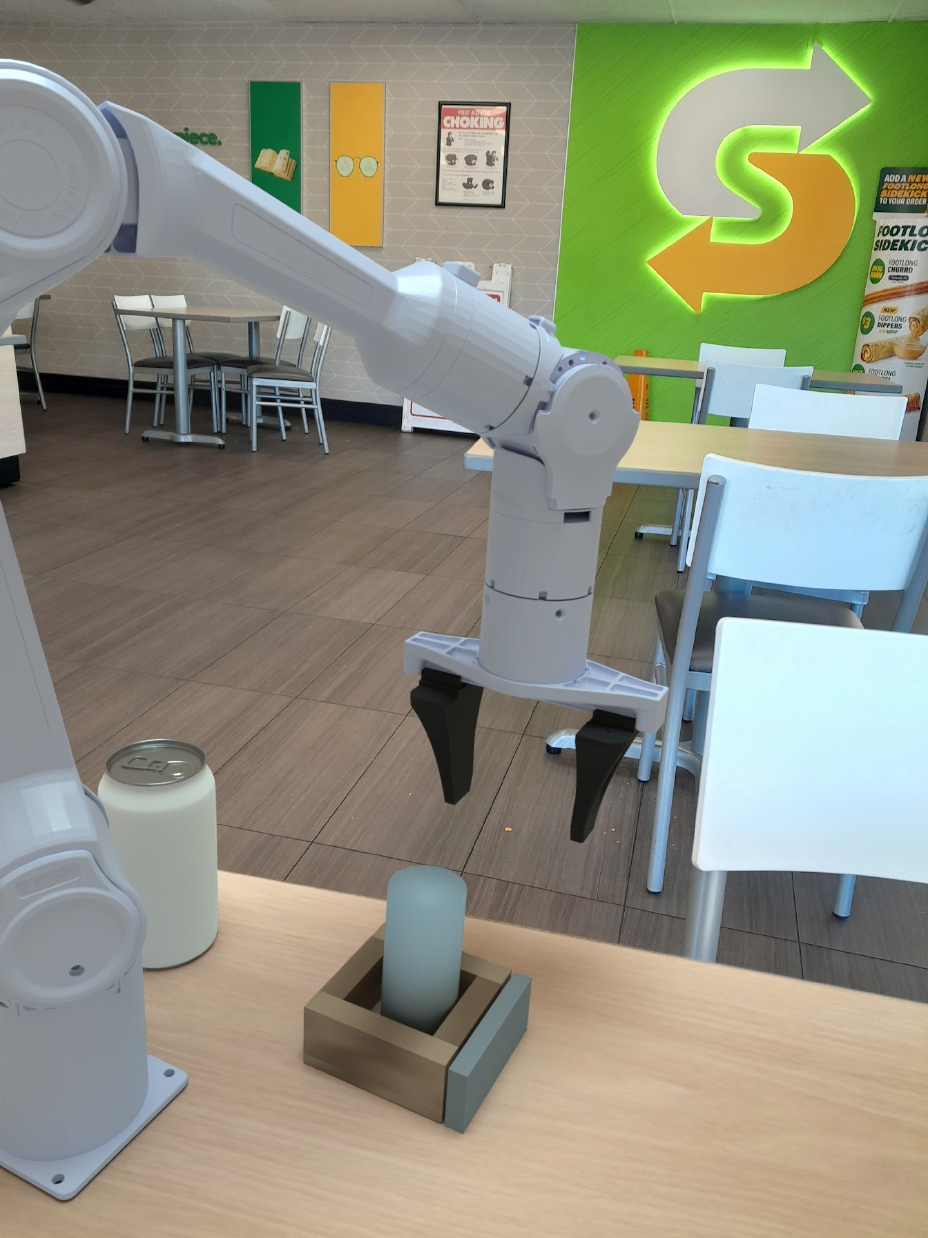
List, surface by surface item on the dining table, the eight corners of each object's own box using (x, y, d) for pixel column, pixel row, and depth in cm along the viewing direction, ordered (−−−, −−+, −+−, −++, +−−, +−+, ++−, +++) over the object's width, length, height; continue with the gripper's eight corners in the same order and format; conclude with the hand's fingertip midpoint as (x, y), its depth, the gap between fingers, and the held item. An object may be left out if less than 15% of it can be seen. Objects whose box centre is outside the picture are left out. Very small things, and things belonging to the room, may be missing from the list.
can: (189, 983, 56) (182, 796, 52) (85, 962, 57) (71, 777, 53) (236, 916, 62) (233, 744, 58) (141, 899, 63) (132, 728, 60)
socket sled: (303, 1062, 51) (303, 1006, 50) (381, 973, 58) (384, 922, 57) (441, 1124, 48) (445, 1066, 47) (507, 1022, 55) (512, 969, 54)
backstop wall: (444, 1126, 48) (448, 1069, 47) (509, 1024, 55) (514, 972, 54) (462, 1135, 47) (467, 1077, 46) (526, 1031, 54) (532, 978, 53)
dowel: (364, 1043, 52) (372, 894, 49) (402, 998, 55) (411, 857, 52) (432, 1072, 50) (444, 919, 47) (467, 1024, 54) (480, 880, 51)
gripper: (695, 591, 52) (662, 818, 56) (449, 545, 58) (436, 755, 62) (659, 628, 46) (625, 879, 50) (388, 572, 52) (379, 803, 56)
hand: (517, 814), depth 56 cm, fingers open, 7 cm apart
